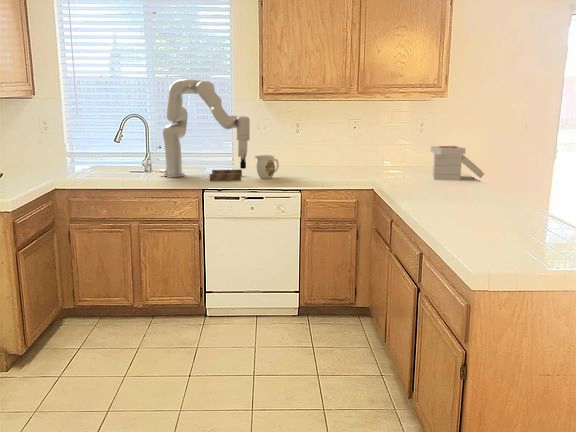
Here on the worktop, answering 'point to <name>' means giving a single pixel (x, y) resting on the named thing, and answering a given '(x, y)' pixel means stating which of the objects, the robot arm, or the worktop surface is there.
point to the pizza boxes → (451, 163)
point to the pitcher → (266, 166)
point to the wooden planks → (226, 175)
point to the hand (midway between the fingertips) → (243, 168)
